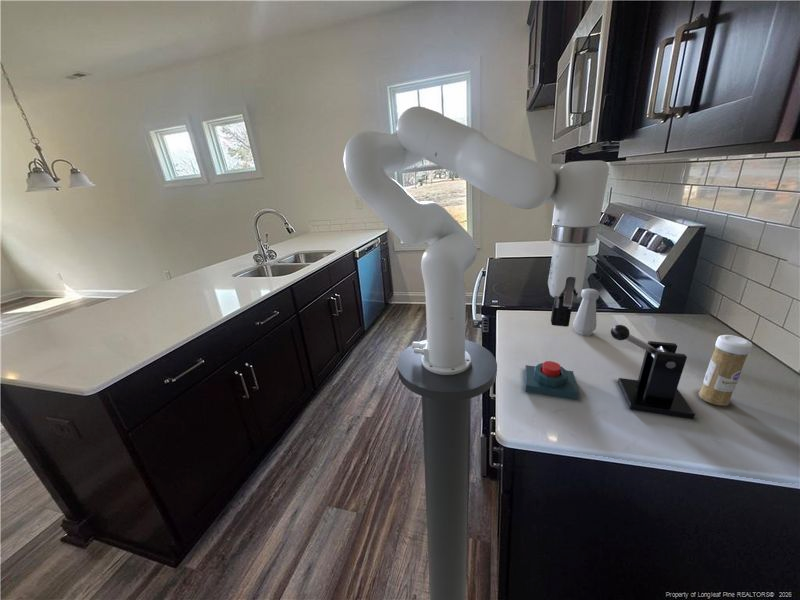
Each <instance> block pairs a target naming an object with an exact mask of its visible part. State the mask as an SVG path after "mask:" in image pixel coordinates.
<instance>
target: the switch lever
mask: <svg viewBox="0 0 800 600" xmlns="http://www.w3.org/2000/svg"><path fill="white" fill-rule="evenodd" d="M610 336H611V337H612V338H613V339H615V340H617V341H625V340H626V341H628V342H630V343H631V344H634V345H635V346H637V347H639V348H641V349H643V350H644V351H645V352H646V351H648V352H650V353H652V354H651V355H652V357H653V358H654V356H655V353H656V351H659V352H668V353H673V352H671V351H669V350H667V349H665V348H664V347H662V346H659V347H658V348H657V349H656V348H654V347H653V346H651V345H649V344H648V342H645V341H643V340H642V339H639V338H638V337H636V336H634V335H632V334H631V333H630V329H629V328H628V327H627V326H625V325H624V324H616V325H614V326H612V328H611V329H610Z"/></svg>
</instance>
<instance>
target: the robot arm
mask: <svg viewBox="0 0 800 600" xmlns="http://www.w3.org/2000/svg"><path fill="white" fill-rule="evenodd" d="M395 129H396V131H395V132H393V133H385V132H380V131H379V132H378V131H371V130H369V131H362V132H358V133H356V134H354V135H352V137H350V138H349V139H348V140H347V142H346V145H345V147H344V152H343V166H344V171H345V175H346V177H347V180H348V182H349V184H350V186H351V188H352V189H353V191H354V192H355V193H356V194H357V195H358V196H359V197H360V199H362V201H363V202H365V203H366V204H367V206H369V207H370V208H371V209H372V210H373V211H374V212H375V214H376V215H377V216H378V217H379V219H381V221H382V222H383V223H384V224H385V225H386V226H387V227H388V228H389V229H390V231H391V232H392V233H394V235H395V236H396V237H397V238H398V239H399V240H400V241H401V242H402V243H403V244H404V245H406V246H408V247H412V248H413V247H419V246H422V245H424V244H426V243H427V245H429V246H428V247H427V248H426V249H425V251H424V252H423V254H422V257H421V260H420V262H421V263H420V269H421V276H422V279H423V285H424V294H425V295H424V296H425V316H426V317H425V318H426V319H425V321H426V339H427V342H424V343H420V342H419V341H412V343H411V345H412V349H414V353H417V354H422V364H423V366H424V367H425V368H426V369H427V370H429V371H431V372H433V373H436V374H441V375H454V374H459V373H462V372H464V371H465V370H467V369H468V368H469V367H470V365H471V356H470V355H469V353H468V352H466V351H465V340H466V325H467V324H466V323H467V322H466V320H467V319H466V317H467V311H466V310H467V292H466V285H465V278H464V277H465V272H466V271H467V270H468V269H469V268H470V267H471V266H472V265H473V264H474V263H475V261H476V259H477V256H478V247H477V243H476V241H475V240H474V238H473V237H472V236H471V234H470V233H469V232H468V231H467V230H466V229H465V228H464V227H463V226H462V225H461V224H460V223H459V222H458V221H457V220H456V218H455V217H453V216H452V215H451V213H450V212H449V211H448V210H447V209H446V208H445V207H444V206H442V205H440V204H439V203H437V202H434V201H429V200H427V201H426V200H425V201H420V202H419V201H417V200H416V199H415V198H414V197H413V196H412V195H411V194H410V193H408V192H407V190H406V189H405V188H404V187H403V186H402V185H401V184H400V183H399V181H396V180H395V179H393V178H392V177H391V176H389V173H396V172H397V173H398V172H400V171H402V170H405V169H407V168H410V167H412V166H414V165H416V164H418V163H420V162H422V161H425V160H426V161H428V162H429V163H432V164H434V165H436V166H437V167H440V168H442V169H444V170H446V171H449V172H451V173H453V174H455V175H456V176H457V177H459V178H460V179H462V180H464V181H465V182H467V183H469V184H470V185H472V186H473V187H474V188H476V189H478V190H480V191H482V192H483V193H485V194H487V195H489V196H491V197H493V198H496V199H497V200H499V201H501V202H503V203H506V204H508V205H510V206H512V207H514V208H518V209H520V210H521V209H523V210H532V209H535V208H538V207H540V206H542V205H543V204H545V203H553V202H554V205H553V213H552V222H551V229H550V238H549V242H550V243H551V244H553V250H552V255H551V260H550V268H549V273H548V279H547V286H548V290H549V295H550V297H552V298H554V299H553V304H552V310H551V316H550V324H551V326H556V327H566V328H567V327H569V326H570V321H571V317H572V309H573V308H572V307H573V302H574V298H575V300H578V299H580V298H581V292H582V290H583V287H584V281H585V276H586V270H587V269H586V268H587V262H588V257H589V256H588V254H589V247H591V246H595V245H596V244H597V238H598V233H599V227H600V221H601V217H602V212H603V211H602V210H603V205H604V201H605V196H606V195H605V194H606V189H607V185H608V184H607V183H608V178H609V174H610V165H609V164H608V162H606V161H604V160H599V159H598V160H596V159H595V160H594V159H593V160H578V161H568V162H565V163H552V162H541V161H535V160H532V159H530V158H528V157H525V156H523V155H520V154H518V153H516V152H514V151H512V150H510V149H507V148H505V147H503V146H500V145H499V144H498V143H494V142H493V141H491V140H490V139H489V138H487V137H486V136H485V134H483V132H481V131H480V130H477V129H476V128H473V127H470V126H468V125H466V124H463V123H462V122H459V121H457V120H455V119H452V118H450V117H447V116H445V115H443V114H442V113H441V112H439V111H436V110H434V109H430V108H427V107H425V106H419V105H418V106H411V107H409V108H407V109H405V111H403V112H402V114H401V115H400V116H399V118H398V120H397V123H396V128H395ZM387 173H388V174H387Z"/></svg>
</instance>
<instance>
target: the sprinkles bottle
mask: <svg viewBox="0 0 800 600" xmlns="http://www.w3.org/2000/svg"><path fill="white" fill-rule="evenodd" d="M714 345H715V348H714V351H713V353H712V356H711V358H710V361H709V364H708V366H707V369H706V372H705V375H704V378H703V382H702V386H701V388H700V390H699V392H698V396H699V398H700V399H702V400H703V401H705V402H707V403H709V404H710V405H714V406H719V407H720V406H721V407H726V406H729V405H730V402H731V398H732V395H733V392H734V391H735V389H736V387H737V384H738V381H739V379H740V377H741V374H742V370H743V368H744V365H745V362H746V361H747V360H746V359H747V357H748V356H749V354H751V351H752V348H753V343H752V342H751V341H750V340H748V339H746V338H743V337H742V336H741V337H740V336H737V335H732V334H722V335H719V336H718V337H717V339H716V341H715V344H714Z"/></svg>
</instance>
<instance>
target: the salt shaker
mask: <svg viewBox="0 0 800 600" xmlns="http://www.w3.org/2000/svg"><path fill="white" fill-rule="evenodd" d="M599 297H600V292H599V290H598V289H595V288H589V287H587V288H584V289H582V292H581V296H580V298H582V300H581V302H580V305H579V307H578V310H577V313H576V315H575V317H574V320H573V323H572V325H573V328H574V330H575V334H578V335H580V336H590V335H592V334H593V332H594V331H595V330H597V326H598V325H597V300H599Z"/></svg>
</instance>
